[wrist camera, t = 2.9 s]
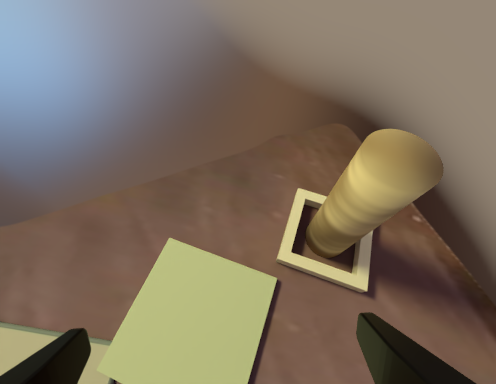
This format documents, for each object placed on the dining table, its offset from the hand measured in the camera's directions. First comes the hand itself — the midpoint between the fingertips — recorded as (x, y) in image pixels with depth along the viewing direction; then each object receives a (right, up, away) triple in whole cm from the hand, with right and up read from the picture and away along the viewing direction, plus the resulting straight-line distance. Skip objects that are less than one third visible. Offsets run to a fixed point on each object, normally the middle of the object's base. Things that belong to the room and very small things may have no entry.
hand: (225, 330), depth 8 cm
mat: (-4, -6, +12) cm, 14 cm away
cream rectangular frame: (+9, 0, +16) cm, 18 cm away
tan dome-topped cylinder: (+9, 0, +16) cm, 18 cm away
